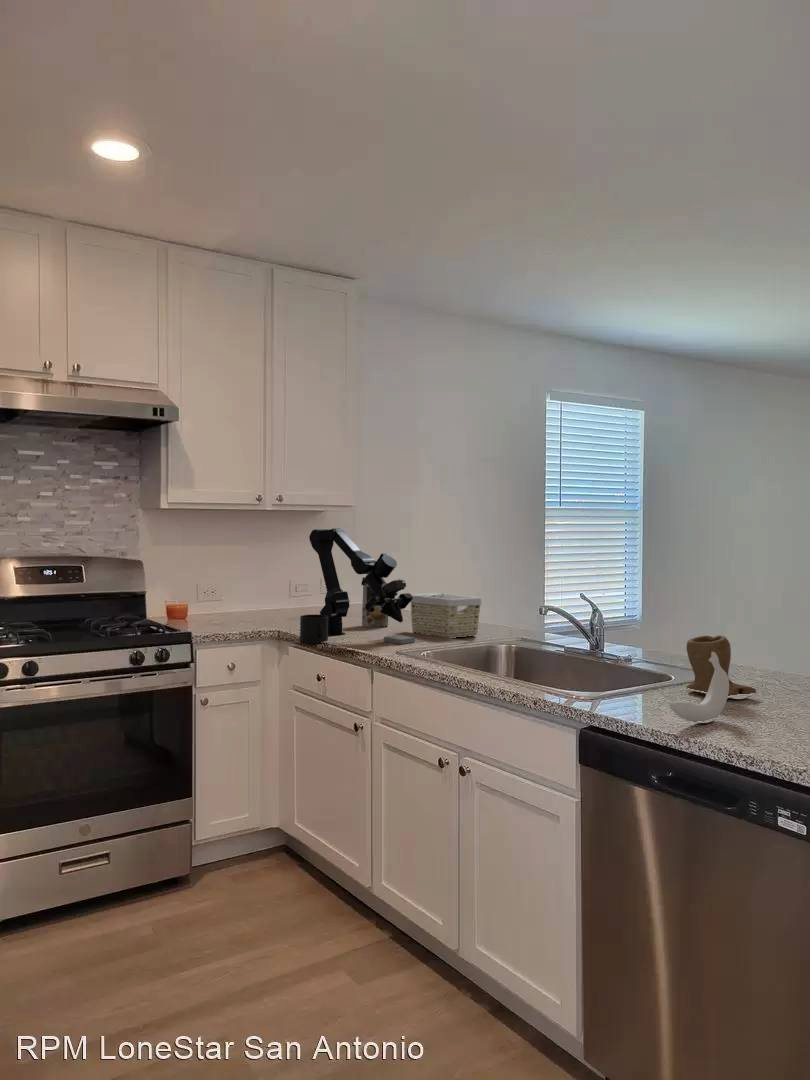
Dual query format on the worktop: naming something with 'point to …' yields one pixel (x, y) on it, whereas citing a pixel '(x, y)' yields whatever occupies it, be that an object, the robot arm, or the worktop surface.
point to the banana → (713, 698)
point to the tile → (399, 639)
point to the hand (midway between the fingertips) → (401, 621)
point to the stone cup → (704, 669)
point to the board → (390, 643)
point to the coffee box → (372, 617)
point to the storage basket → (445, 614)
